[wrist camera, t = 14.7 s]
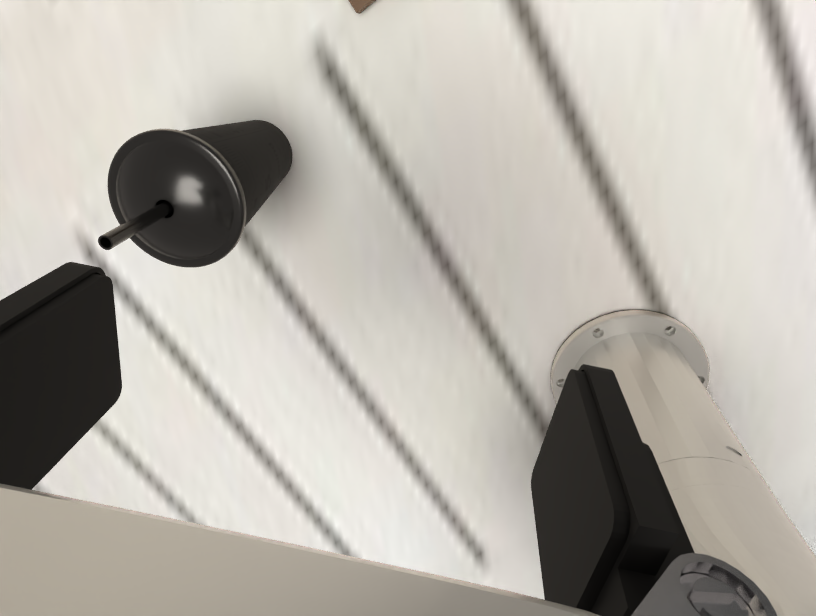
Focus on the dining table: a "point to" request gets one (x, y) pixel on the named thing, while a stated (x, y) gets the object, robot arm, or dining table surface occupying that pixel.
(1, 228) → the dining table surface
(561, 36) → the dining table surface
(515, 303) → the dining table surface
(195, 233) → the drinking cup
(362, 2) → the board
